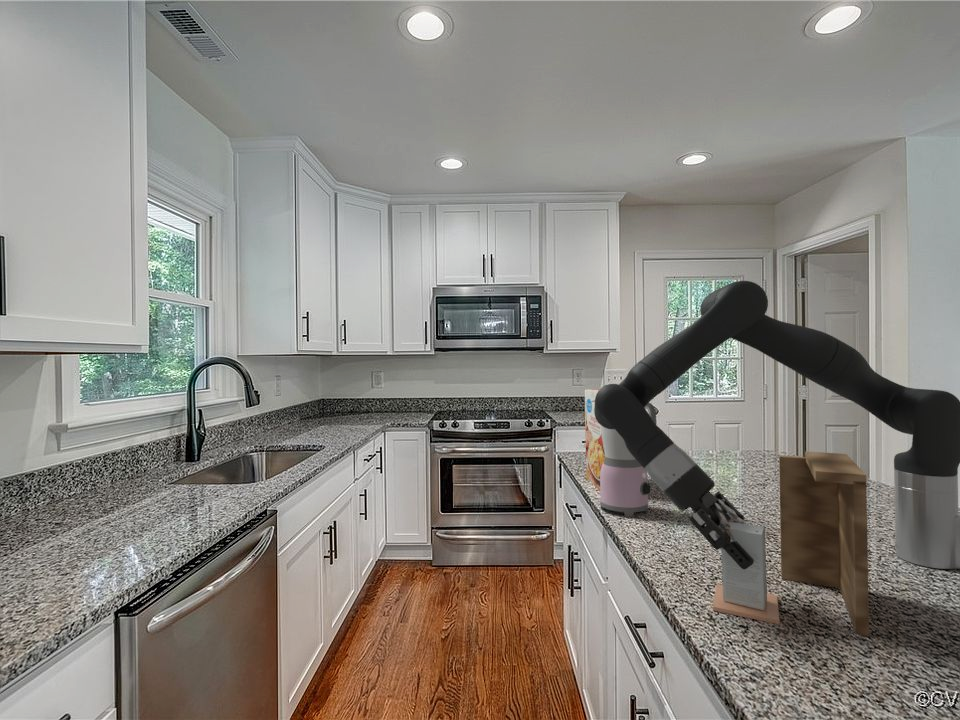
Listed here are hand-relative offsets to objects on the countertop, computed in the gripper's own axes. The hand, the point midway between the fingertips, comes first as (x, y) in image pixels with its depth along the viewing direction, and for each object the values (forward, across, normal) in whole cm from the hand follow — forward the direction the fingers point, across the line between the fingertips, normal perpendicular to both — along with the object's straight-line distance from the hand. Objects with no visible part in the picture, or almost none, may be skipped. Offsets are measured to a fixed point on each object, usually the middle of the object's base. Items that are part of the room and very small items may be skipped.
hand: (754, 557), depth 79 cm
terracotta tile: (+5, 0, +7) cm, 8 cm away
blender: (-19, +38, +30) cm, 52 cm away
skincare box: (+4, 0, +6) cm, 8 cm away
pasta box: (-29, +59, +41) cm, 78 cm away
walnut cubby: (+11, +7, 0) cm, 13 cm away
